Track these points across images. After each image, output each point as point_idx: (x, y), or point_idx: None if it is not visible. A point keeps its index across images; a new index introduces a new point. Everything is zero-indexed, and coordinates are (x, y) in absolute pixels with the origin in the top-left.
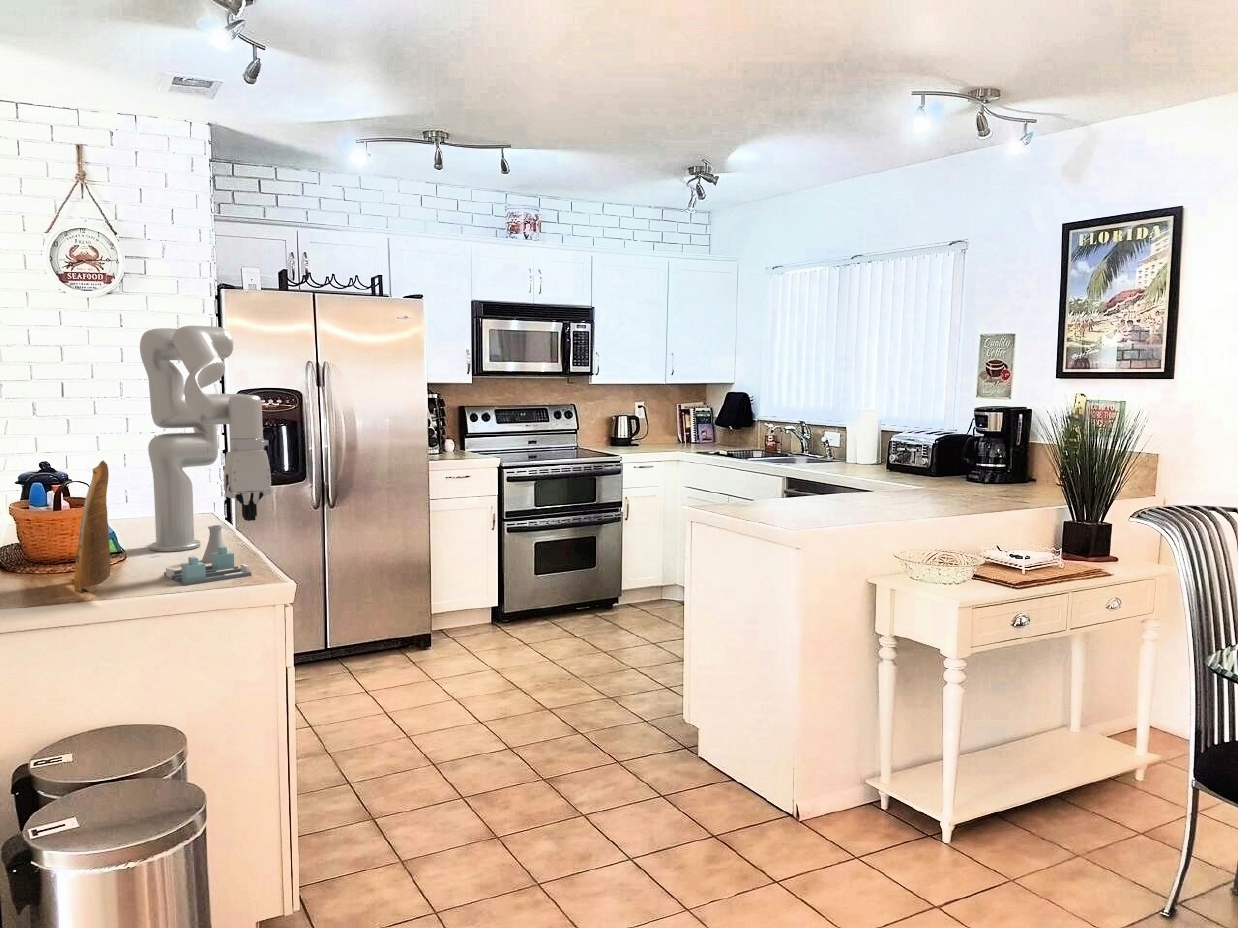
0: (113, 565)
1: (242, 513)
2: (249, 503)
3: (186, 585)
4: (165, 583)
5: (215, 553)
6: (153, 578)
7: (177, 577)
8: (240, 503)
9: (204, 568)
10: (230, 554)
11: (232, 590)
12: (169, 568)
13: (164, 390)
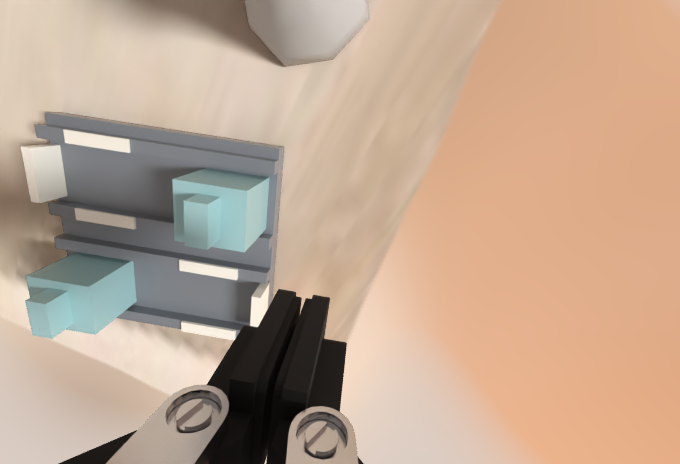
0: None
1: (236, 343)
2: (276, 436)
3: None
4: None
5: (184, 197)
6: (37, 59)
7: (59, 241)
8: (184, 394)
9: (104, 324)
10: (231, 248)
11: (185, 375)
12: (30, 169)
13: None
